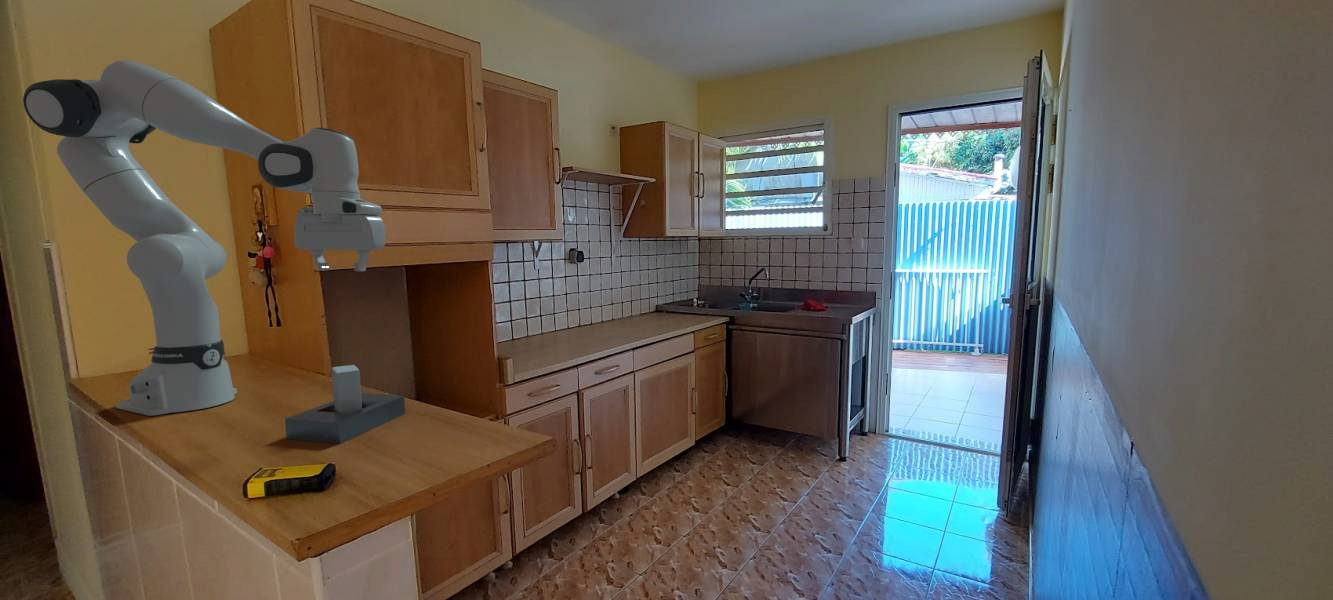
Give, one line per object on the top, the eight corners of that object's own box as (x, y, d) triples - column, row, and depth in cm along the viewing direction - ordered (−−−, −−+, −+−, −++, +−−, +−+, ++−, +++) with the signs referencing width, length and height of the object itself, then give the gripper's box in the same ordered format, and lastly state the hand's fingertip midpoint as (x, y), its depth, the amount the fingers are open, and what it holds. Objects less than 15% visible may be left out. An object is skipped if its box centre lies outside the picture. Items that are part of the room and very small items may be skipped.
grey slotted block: (286, 438, 103) (284, 418, 103) (357, 409, 121) (356, 392, 120) (340, 443, 101) (338, 423, 100) (405, 413, 118) (404, 395, 118)
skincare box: (334, 423, 112) (331, 367, 111) (358, 419, 115) (354, 364, 113) (339, 431, 107) (335, 372, 106) (363, 427, 110) (360, 369, 109)
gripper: (283, 206, 115) (288, 271, 117) (367, 205, 111) (370, 272, 113) (308, 208, 121) (313, 269, 123) (388, 207, 117) (392, 270, 119)
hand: (341, 270), depth 118 cm, fingers open, 8 cm apart
